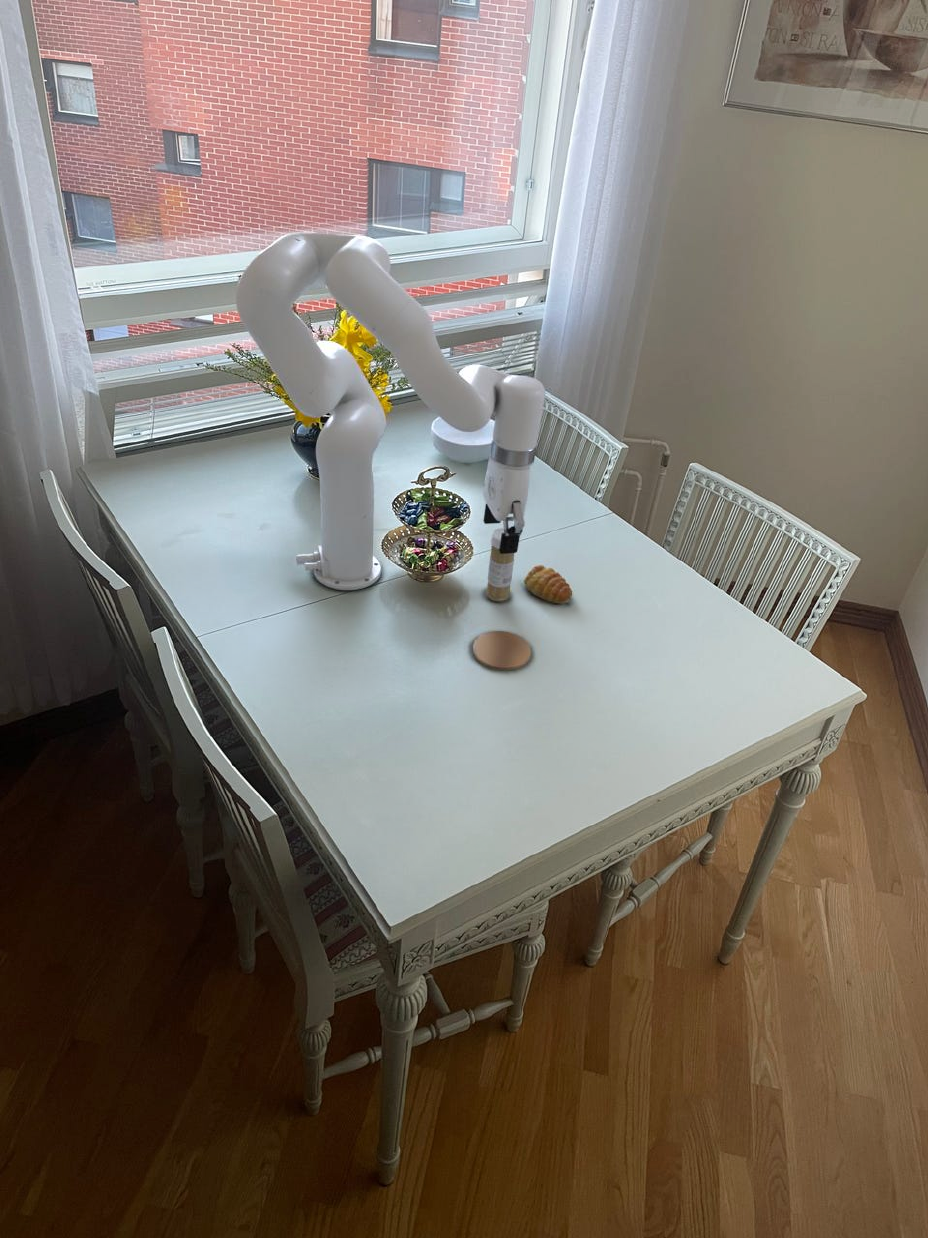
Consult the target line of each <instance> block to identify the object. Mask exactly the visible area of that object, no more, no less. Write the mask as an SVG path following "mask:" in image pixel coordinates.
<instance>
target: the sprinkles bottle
mask: <svg viewBox="0 0 928 1238" xmlns="http://www.w3.org/2000/svg"><path fill="white" fill-rule="evenodd" d="M502 533H504V528H498V529H495V530H494V531H492V533H491V536H490V537H491V539H490V545H491V548H490V555H489V562H488V573H487V585H486V590H485V595H486V597H487V598H488V599H489V600H491V601H494V602H504V601H507V600H508V599H509V598H510V596H511V593H510V591H511V590H510V589H511V584H512V579H513V573H514V572H513V570H514V564H515V563H514V562H515V553H508V554H501V553H500V552H499V548H500V542H501V535H502Z"/></svg>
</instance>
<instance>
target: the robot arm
mask: <svg viewBox="0 0 928 1238" xmlns="http://www.w3.org/2000/svg"><path fill="white" fill-rule="evenodd" d="M391 263H392V262H391V259H390V255H389V253H388V251H387V250H386V248H385V247H384V246H383V245H382V244H381V243H380V242H378V241H377V240H376V239H374V238H372V237H369V236H365V235H358V234H345V233H344V234H342V233H341V234H340V233H320V232H301V231H298V232H291V233H288V234H284V235H283V236H281V237H279V238H277V239H276V240H275V241H274V242H273V243H271V244H269V246H267V247H266V248H264V249H263V250H262V251H261V252H259V253H258V254H257V255H256V256H255V257H254V258H253V259H252V260H251V262H249V264H248V265H247V266H246V268H245V269H244V271H243V272H242V274H241V277H240V278H239V281H238V283H237V287H236V292H235V304H236V309H237V313H238V316H239V318H240V321H241V323H242V325H243V326H244V328H245V330H246V331H247V333H248V334H249V336H250V337H251V338H252V340H253V342H255V344H256V346H257V347H258V348H259V350H260V352H261V353H262V355H263V357H264V359H265V360H266V362H267V364H268V366H269V367H270V369H271V370H272V372H273V373H274V375H275V377H276V379H277V380H278V382H279V383H280V384H281V387H282V388H283V390H284V391H285V393H286V395H287V396H288V398H289V399H290V401H291V403H292V404H293V406H294V407H295V408H296V409H297V410H298V411H299V412H300V413H302V414H303V415H304V416H306V417H309V418H321V417H324V416H326V415H328V414H329V415H330V416H329V417H328V419H327V421H325V423H324V425H323V427H322V428H321V430H320V432H319V434H318V437H317V440H316V445H315V458H316V464H317V471H318V480H319V499H320V535H321V537H320V538H321V541H320V542H321V545H317V547H318V548H317V551H313V553H303V554H300V553H299V554H296V555H295V557H296V558H295V559H296V560H295V561H296V565H297V566H300V565H304V571H313V574H314V578H316V580H317V581H318V582H319V583H320V584H322V585H324V586H326V587H327V588H329V589H333V590H338V591H339V590H340V591H356V590H361V589H365V588H368V587H369V586H371V585H373V584H375V583H376V582H377V581H378V580H379V578H380V576H381V574H382V565H381V563H380V561H379V559H378V558H376V557H375V556H374V527H375V526H374V521H375V519H374V518H375V482H374V473H373V458H374V455H375V452H376V450H377V448H378V447H379V444H380V443H381V440H382V439H383V436H384V434H385V433H386V427H387V417H386V414H385V411H384V408H383V406H382V404H381V402H380V400H379V398H378V396H377V395H376V393H375V392H374V390H373V388H372V385H371V384H370V382H369V381H368V380H367V378H366V376H365V374H364V372H363V371H362V369H361V367H360V366H359V364H358V362H357V360H356V359H355V357H354V356H353V355H352V353H351V352H349V350H347V349H346V348H345V347H344V346H342V345H341V344H339V343H337V342H335V341H329V340H320V341H316V339H315V338H314V336H313V334H312V332H311V330H310V328H309V327H308V325H307V324H306V322H304V321H303V319H302V318H300V317H299V315H298V314H296V313H295V312H294V310H293V304H294V303H295V302H296V301H297V300H298V299H299V298H300V297H301V296H302V295H303V294H305V292H306V291H307V290H308V289H309V288H311V287H319V288H320V287H321V288H326V290H327V292H328V293H329V295H330V296H331V297H332V298H333V299H334V300H335V302H336V303H337V304H338V305H340V307H342V308H343V309H344V310H345V311H346V312H347V313H348V314H349V315H350V316H351V317H352V318H353V319H354V320H355V321H357V322H358V323H359V324H360V325H361V326H362V327H363V328H364V329H365V330H366V331H368V333H370V334H371V335H372V336H373V337H374V338H375V339H376V340H377V341H378V342H379V343H381V345H382V346H384V347H385V348H386V349H387V351H388V352H389V353H390V354H391V355H392V357H393V358H394V361H395V362H396V364H397V366H398V368H399V369H400V372H401V373H402V374H403V376H404V377H405V379H406V380H407V382H408V383H409V386H410V387H411V388H412V390H413V391H414V392H415V394H416V395H417V396H418V398H419V399H420V400H421V401H422V402H423V403H424V404H425V405H426V406H427V407H428V408H429V409H431V410H432V411H433V412H434V413H435V414H436V415H437V417H440V418H441V419H443V420H444V421H445V422H446V423H447V424H449V425H450V426H452V427H453V428H455V429H457V430H460V431H463V432H475V431H478V430H480V429H481V428H483V427H484V426H485V425H486V424H487V423H488V421H489V419H491V417H492V414H493V415H494V420H493V421H494V429H493V436H492V443H491V451H490V458H488V462H487V467H486V473H485V476H484V477H485V478H484V484H483V489H482V497H483V499H484V501H485V507H484V515H483V520H482V521H483V523H484V525H491V524H501V523H502V525H503V529H504V533H502V535H501V542H500V548H499V552H500V553H501V554H508V553H514V554H516V553H517V552H518V550H519V543H520V539H521V538H520V536H521V535H522V533H523V529H524V527H525V525H526V523H525V518H524V517H525V513H526V509H527V503H528V496H529V486H530V474H531V473H530V472H531V467H533V465H534V463H535V458H536V453H537V447H538V440H539V434H540V429H541V423H542V418H543V411H544V406H545V400H546V389H545V386H544V385H543V383H542V382H541V381H539V380H538V379H536V378H534V377H531V376H528V375H512V374H509V373H506V372H503V371H500V370H498V369H495V368H492V367H490V366H486V365H483V364H470V365H469V364H468V365H467V366H465V367H463V368H462V369H461V370H460V371H459V372H458V371H457V370H456V369H455V367H454V366H452V364H451V363H450V362H449V360H448V359H447V358H446V356H445V355H444V353H443V351H442V349H441V347H440V345H439V343H438V339H437V336H436V332H435V329H434V325H433V321H432V318H431V316H430V313H429V312H428V311H427V309H425V307H424V306H422V305H421V304H420V302H418V301H417V300H416V299H415V297H413V296H412V295H411V294H410V293H409V292H407V290H406V289H404V287H402V286H401V284H400V283H398V282H397V281H396V280H395V279H394V278H393V277H392V275H390V273H391V269H392V268H391ZM509 515H512V516H509ZM509 522H514V523H513V526H509Z"/></svg>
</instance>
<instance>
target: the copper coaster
mask: <svg viewBox="0 0 928 1238" xmlns="http://www.w3.org/2000/svg"><path fill="white" fill-rule="evenodd" d="M472 653H473V656H474V657H475V659H476V660H477V661H478V662H479V663H480V664H482V665H484V666H485V667H487V668H490V669H493V670H498V671H513V670H518V669H519V668H522V667H524V666H525V665H526V664H527V663H528V662H529V661H530V659H531V657H532V656H531V655H532V649H531V646H530V644H529V643H528V641H526V640H525V639H524V638H523V637H521V636H520V635H518V634H516V633H513V632H510V631H505V630H504V631H503V630H494V631H488V632H485V633H482V634H481V635H479V636H478V637H477V638H476V639H475V640H474V642H473V645H472Z"/></svg>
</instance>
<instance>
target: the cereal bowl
mask: <svg viewBox="0 0 928 1238" xmlns="http://www.w3.org/2000/svg"><path fill="white" fill-rule="evenodd" d="M494 421H495V420H494V419H491V418H490V419H489V421H488V423H487V424H486V425H485V426H484V427H483V428H481V429H480V430H478V431H475V432H463V431H460V430H457V429H455V428H453V427H452V426H450V425H449V424H447V423H446V422H445V421H444V420H443V419H441V418H440V417H439V416H437V418H436V419H434V420H433V421H432V422H431V427H430V436H431V437H430V438H431V439H430V440H431V442H432V445H433V446H434V448H435V449H436V451H438V452H439V453H440V454H442V455H443V456H444V457H445V458H448V459H451V460H452V461H453V462H457V463H461V464H474V463H478V462H482V461H485V460H489V459H490V451H491V443H492V436H493V429H494Z"/></svg>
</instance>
